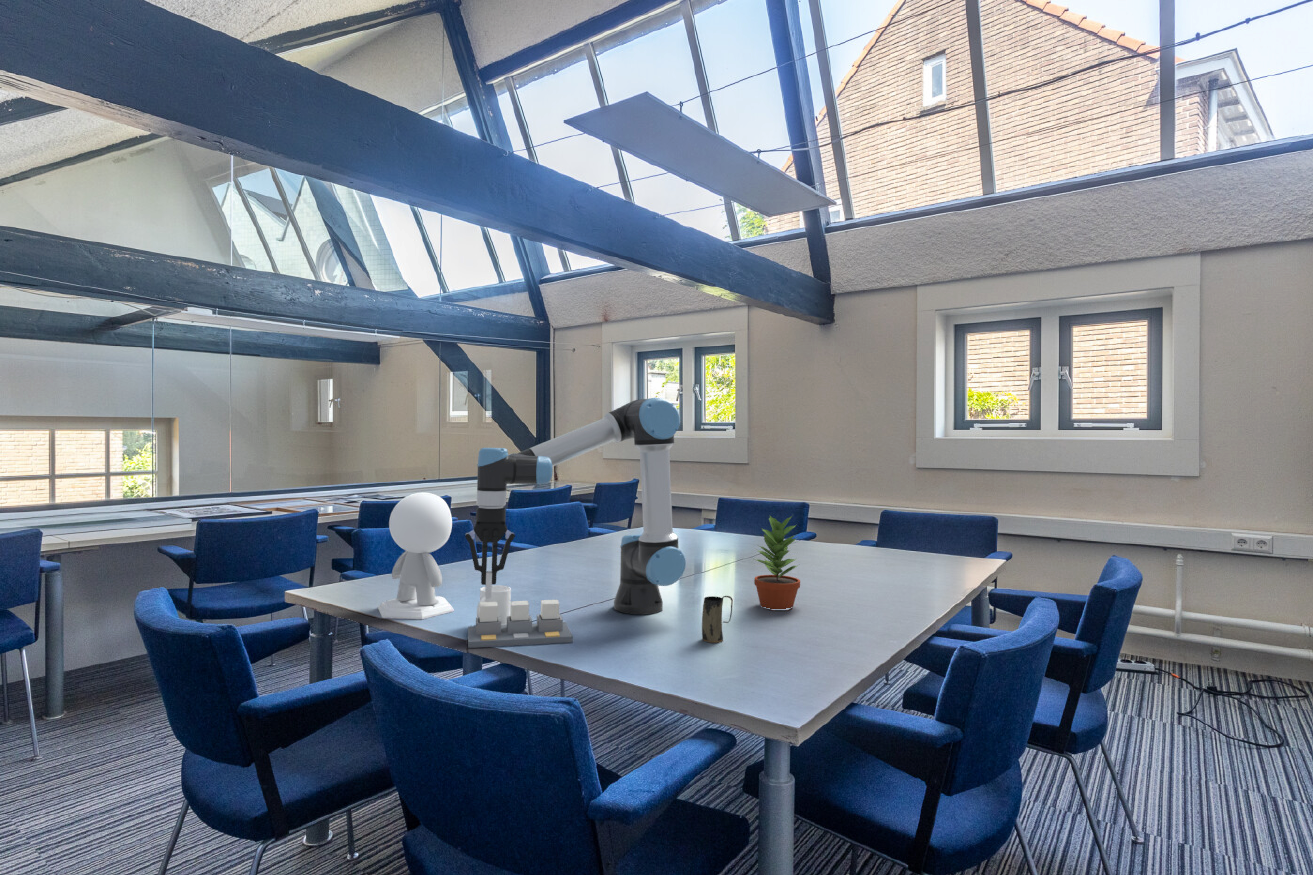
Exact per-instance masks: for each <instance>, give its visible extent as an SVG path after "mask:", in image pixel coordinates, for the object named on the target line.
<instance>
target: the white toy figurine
mask: <svg viewBox="0 0 1313 875" xmlns="http://www.w3.org/2000/svg"><path fill="white" fill-rule="evenodd" d="M452 518H453V517H452V513H451V509H450V507H449V504H447V502H446V500H445V499H443V498H442V497H441V496H439V495H437V494H435V493H431V492H425V491H424V492H422V491H421V492H415V493H412V494H409V495H407V496H405V497H403V498H402V499H401V500H399V502H398V503H396V504H395V506H394V507H393V509H392V510H391V513H390V516H389V521H388V526H389V533H390V535H391V537H392V539H393V541H394V543H396V545H398V547H400V548H401V549H403V550H404V552H402V554H401V555H399V557H398V558H397V560H396V562H395V563H394V565H393V567H392V571H391V577H392V580H398V579H399V583H398V588H397V595H396V596H397V597H396V598H393V599H388V600H386V601H382V602H380V604H379V605H378V606H377V608H378V612H379V614H380V616H381V618H382V619H399V620H400V619H401V620H424V619H425V620H427V619H429V618H433V617H438V616H441V615H445V614H448V613H449V614H450V613H453V612H454V611H455V609H454V607H453V606H452V605H451V604H450V602H449V601H448V600H447V599H446V597H443V596H439V595H436V590H435V588H440V587H441V586H443V585H442V584H443V576H442V572H441V570H440V567H439V565H438V564H437V561H436V560H435V558H434V557H433V556H432V554H431V553H432V552H433V553H434V552H435V551H437V550H439V549H441V548H442V547H443V546H444V545H445V544H446V543H447V542H448V540H449V539H450V535H451V533H452V527H453V519H452Z"/></svg>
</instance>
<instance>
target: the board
mask: <svg viewBox="0 0 1313 875" xmlns="http://www.w3.org/2000/svg"><path fill="white" fill-rule="evenodd" d="M567 624H568V623H566V622H565V621H564V619H563V617H562V615H561V613H559V619H542V617H541V614H536V623H535V622H534V623H533V619H532V616H531V614H529V620H516V621H511V617H510V616H507V625H501V620H500V616H497V621H494V622H480V618H479V617H477V616H476V617H475V625H473V626H472V625H471V626H468V627H467V649H473V648H474V649H475V648H477V649H478V648H490V647H491V648H492V647H495V648H496V647H509V646H510V647H511V646H513V647H514V646H529V645H530V646H531V645H546V644H548V645H549V644H567V643H570V644H571V643H573V642H574V641H573V640H574V639H573V638H574V637H573V634H572V632H571V630H570V628H569V626H568V625H567Z"/></svg>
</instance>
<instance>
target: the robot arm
mask: <svg viewBox="0 0 1313 875" xmlns="http://www.w3.org/2000/svg"><path fill="white" fill-rule="evenodd" d="M680 424H681V417H680V414H679V411H678V409H677V407H676V406H675V405H674V404H673V403H672V402H671V401H670V400H668V399H666V398H660V397H651V398H644V399H643V398H642V399H641V398H639V399H635V400H632V401H630V402H627V403H626V404H624V405H621V406H620V407H618V408H615V409H613V410H611V411H609V412H606V413H605V414H604V416H603V418H601V419H599V420H596V421H593V422H591V423H588V424H586V425H583V426H580V427H578V428H576V429H573V430H570V431H569V432H566V433H564V434H560V435H559V436H557V437H554V438H552V439H549V440H546V441H544V442H541V443H539V444H536V445H535V446H532V447H530V448H527V449H525V450H522V451H520V452H518V453H515V452H514V453H513V452H512V453H510V454H509V453H508V449H507V448H505V447H482V448H480V449H479V451H478V457H477V458H478V459H477V464H476V466H477V475H476V476H477V480H476V482H477V483H476V484H477V486H476V488H477V490H476V506H478V507H477V508H476V509H475V511H476V512H475V524H474V525H473V529H472V530H471V531H469V532H466V533H465V536H464V538H465V539H466V541H467V542H468V544H469V550H470V553H471V558H472V563H473V567H474V568H473V569H474V570H475V571H478V572H480V573H481V575H480V584H481V585H482V586H483V585H484V587H485V598H491V590H492V586H494V585H496V583H497V574H498V572H499V571H503V570H504V568H505V565H506V562H507V557H508V554H509V550H510V547H511V544H512V542H513V541H514V539H515V538H516V535H515V533H514V532H511V531H510V530H508V527H507V525H506V517H507V516H506V512H507V511H506V507H505V506H506V505H507V484H508V485H513V484H514V485H536V486H537V485H547V484H549V483H550V482H551V480H552V477H553V472H554V471H553V470H554V469H553V467H555V466H558V465H560V464H562V463H565V462H567V461H569V460H572V459H575V458H577V457H580V456H581V455H584V454H587V453H588V452H591V451H593V450H596V449H598V448H600V447H602V446H605V445H608V444H610V443H612V442H615V443H621V442H623V441H627V440H631V439H633V441H634V442H633V443H634V444H633V445H634V447H635V448H636V449H638V451H639V459H640V460H639V461H640V463H639V464H640V482H641V484H640V485H641V505H642V528H643V531H642V532H643V533H642V534H627V535H626V534H625V535H623V536H622V537H621V543H620V547H619V548H620V576H619V577H620V579H619V580H620V581H619V585H618V589H617V592H616V593H615V598H614V600H613V609H614V610H615V611H617V612H620V613H622V614H628V615H629V614H630V615H648V614H649V615H650V614H656V613H660V612H661V611H663V608H664V606H663V604H664V602H663V599H662V595H661V592H660V588H659V586H661V587H668V586H672V585H674V584H676V583H677V582H679V580H680V579H681V577H682V576H683V574H684V572H685V570H686V566H687V564H686V563H687V560H686V556H685V554H684V553H683V552H682V550H680V549H679V536H678V535H677V534H676V533H674V531H673V509H672V508H673V507H672V489H671V488H672V486H671V485H672V483H671V462H670V461H671V458H670V457H671V456H670V450H671V449H672V447H673V446H674V445H675V435H676V433H677V431H678V430H679V427H680ZM475 535H476V536H477V537H478V539H479V541H481V543H482V545H481V546H482V548H481V565H480V563H479V560H478V558H479V557H478V554H477V550H476V549H477V548H476V546H475ZM504 535H505V536H504ZM503 537H505V543H504V546H503V548H502V553H501V556H500V559H499V563H498V547H499V546H498V545H499V544H498V542H500V541H501V539H502V538H503ZM488 543H491V544H492V546H491V548H492V549H491V570H487V568H488V567H487V566H488V563H487V562H488Z"/></svg>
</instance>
